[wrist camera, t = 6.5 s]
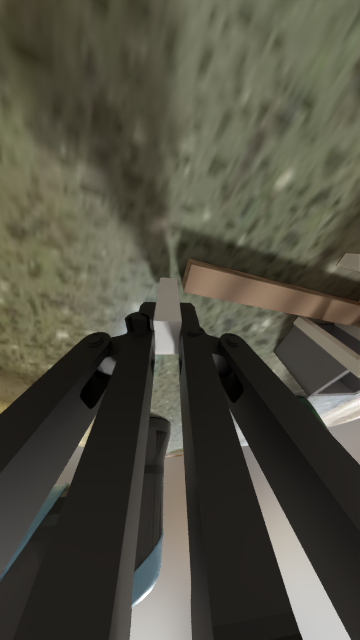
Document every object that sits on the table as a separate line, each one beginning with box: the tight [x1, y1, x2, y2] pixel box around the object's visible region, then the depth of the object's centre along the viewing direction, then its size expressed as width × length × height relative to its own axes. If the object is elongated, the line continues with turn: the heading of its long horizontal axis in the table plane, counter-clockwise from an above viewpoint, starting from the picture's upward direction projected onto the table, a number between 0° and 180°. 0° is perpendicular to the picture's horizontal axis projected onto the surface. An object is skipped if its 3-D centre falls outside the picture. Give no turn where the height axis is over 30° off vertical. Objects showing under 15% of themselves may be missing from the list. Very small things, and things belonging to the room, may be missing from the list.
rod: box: [182, 259, 360, 326], centre depth 15 cm, size 22×2×2 cm, turn 76°
